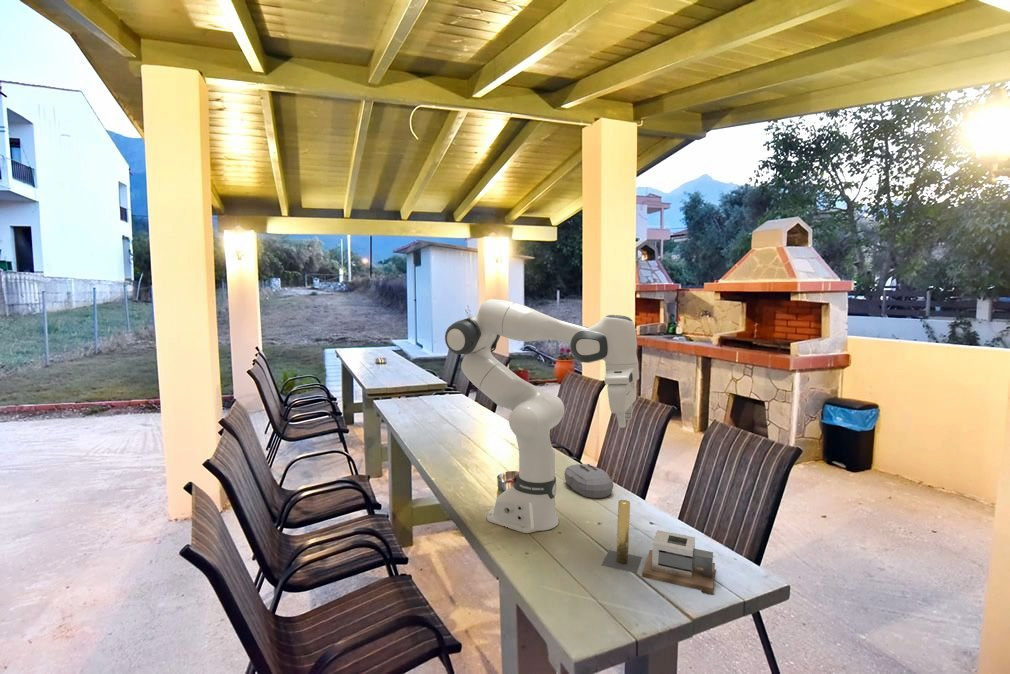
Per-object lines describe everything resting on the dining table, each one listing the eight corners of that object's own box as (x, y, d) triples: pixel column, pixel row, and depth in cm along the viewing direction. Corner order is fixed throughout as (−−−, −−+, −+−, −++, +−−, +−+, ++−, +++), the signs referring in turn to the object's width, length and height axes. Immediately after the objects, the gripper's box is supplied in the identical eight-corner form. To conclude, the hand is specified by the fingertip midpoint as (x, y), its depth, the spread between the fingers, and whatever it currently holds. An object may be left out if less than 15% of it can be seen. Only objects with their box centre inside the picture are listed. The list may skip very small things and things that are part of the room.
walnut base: (641, 578, 131) (642, 572, 131) (649, 555, 143) (649, 549, 142) (712, 594, 124) (713, 588, 124) (714, 568, 136) (714, 563, 136)
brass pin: (615, 562, 137) (617, 503, 136) (617, 557, 140) (619, 499, 139) (626, 564, 136) (629, 505, 135) (628, 559, 139) (631, 501, 138)
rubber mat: (601, 567, 136) (601, 565, 136) (608, 551, 144) (608, 549, 144) (636, 574, 132) (636, 573, 132) (642, 558, 140) (642, 557, 140)
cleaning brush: (558, 482, 197) (583, 502, 179) (559, 461, 197) (584, 478, 178) (594, 478, 202) (622, 497, 184) (594, 457, 202) (623, 474, 183)
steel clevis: (651, 569, 132) (652, 542, 132) (656, 555, 139) (657, 530, 139) (711, 582, 126) (712, 554, 126) (712, 567, 134) (713, 540, 133)
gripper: (618, 369, 155) (621, 415, 155) (602, 379, 136) (606, 431, 136) (639, 368, 152) (642, 415, 153) (627, 378, 133) (630, 432, 134)
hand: (625, 423), depth 144 cm, fingers open, 8 cm apart
